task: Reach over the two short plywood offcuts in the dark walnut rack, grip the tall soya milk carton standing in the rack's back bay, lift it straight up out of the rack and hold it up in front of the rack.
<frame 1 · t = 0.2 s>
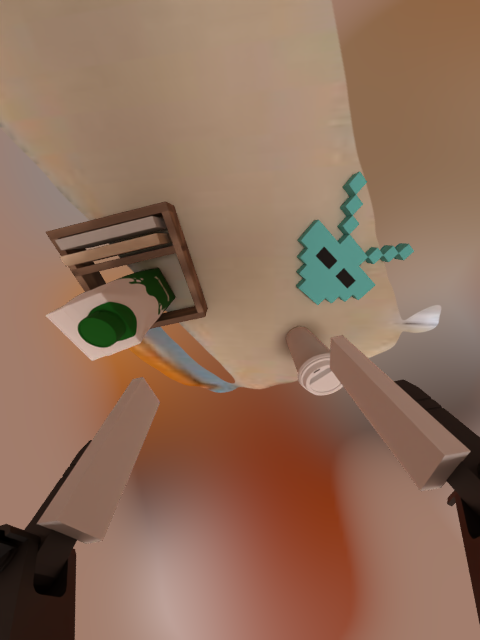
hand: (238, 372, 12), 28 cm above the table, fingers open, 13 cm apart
soya milk: (153, 288, 37), resting in offcut rack
birch offcut: (134, 247, 33), resting in offcut rack
offcut rack: (146, 274, 36), on the table
alien figure: (338, 258, 37), on the table
grey offcut: (127, 233, 32), resting in offcut rack
coffee cup: (297, 336, 45), on the table
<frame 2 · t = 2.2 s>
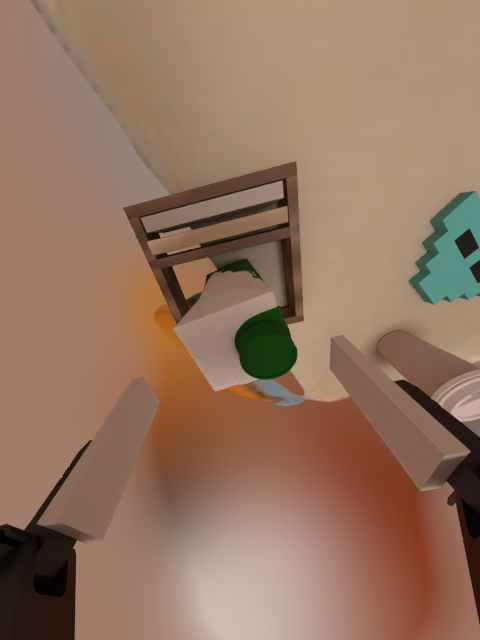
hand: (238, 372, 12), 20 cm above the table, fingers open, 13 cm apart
soya milk: (233, 285, 30), resting in offcut rack
birch offcut: (220, 231, 26), resting in offcut rack
offcut rack: (229, 268, 28), on the table
alien figure: (470, 245, 29), on the table
grey offcut: (216, 213, 24), resting in offcut rack
coffee cup: (391, 342, 37), on the table
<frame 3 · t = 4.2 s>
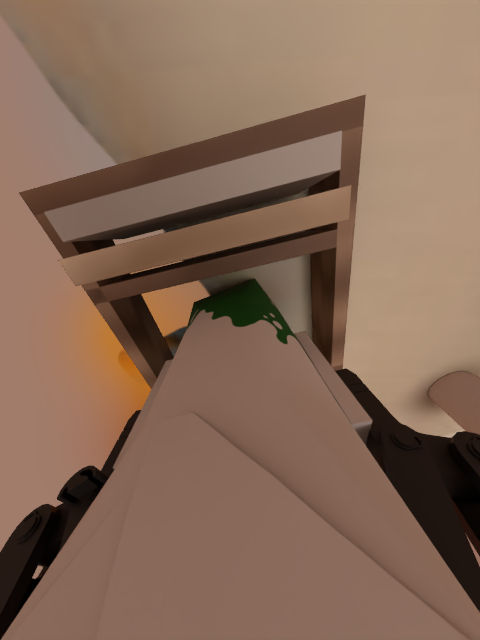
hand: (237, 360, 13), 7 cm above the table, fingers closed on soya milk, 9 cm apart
soya milk: (234, 316, 20), resting in offcut rack, touching gripper
birch offcut: (213, 237, 16), resting in offcut rack
offcut rack: (228, 292, 18), on the table
grey offcut: (206, 207, 15), resting in offcut rack
coffee cup: (447, 385, 28), on the table
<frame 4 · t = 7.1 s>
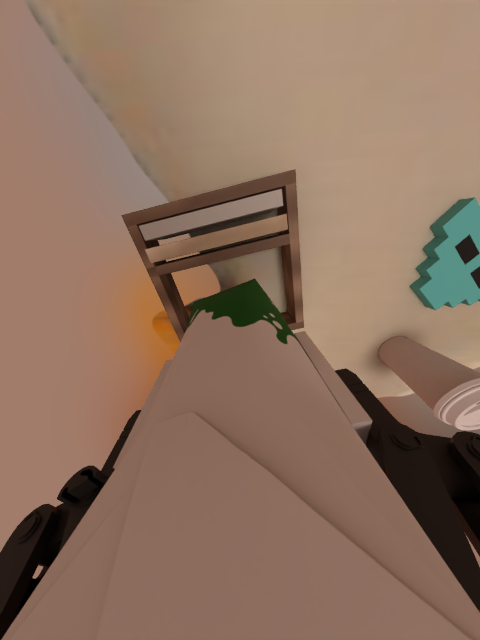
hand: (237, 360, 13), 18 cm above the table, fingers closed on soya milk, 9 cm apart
soya milk: (234, 316, 20), point 10 cm above the table, touching gripper
birch offcut: (219, 238, 25), resting in offcut rack
offcut rack: (228, 274, 28), on the table
alien figure: (470, 250, 29), on the table
grey offcut: (215, 220, 24), resting in offcut rack
coffee cup: (392, 348, 37), on the table
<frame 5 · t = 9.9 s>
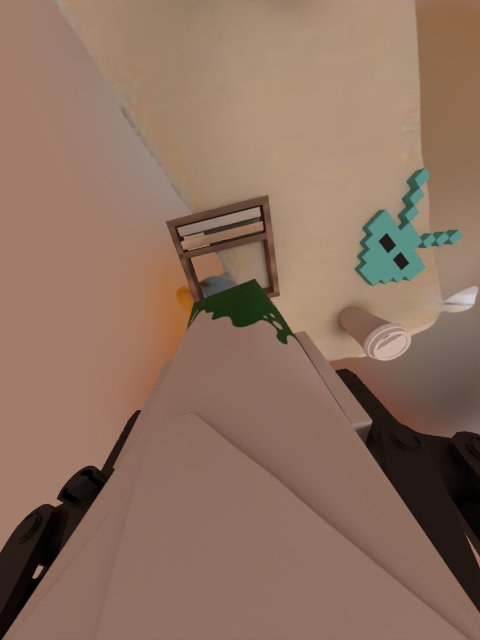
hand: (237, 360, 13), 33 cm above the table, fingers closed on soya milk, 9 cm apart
soya milk: (234, 316, 20), point 26 cm above the table, touching gripper
birch offcut: (223, 235, 39), resting in offcut rack
offcut rack: (229, 259, 41), on the table
alien figure: (394, 244, 42), on the table
grey offcut: (220, 223, 38), resting in offcut rack
coffee cup: (348, 316, 51), on the table
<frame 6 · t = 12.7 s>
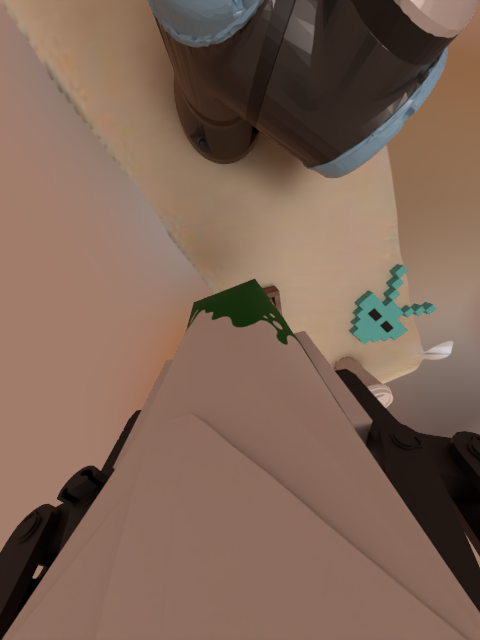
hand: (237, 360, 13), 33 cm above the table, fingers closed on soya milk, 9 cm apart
soya milk: (234, 316, 20), point 26 cm above the table, touching gripper
alien figure: (381, 312, 51), on the table
coffee cup: (344, 364, 59), on the table
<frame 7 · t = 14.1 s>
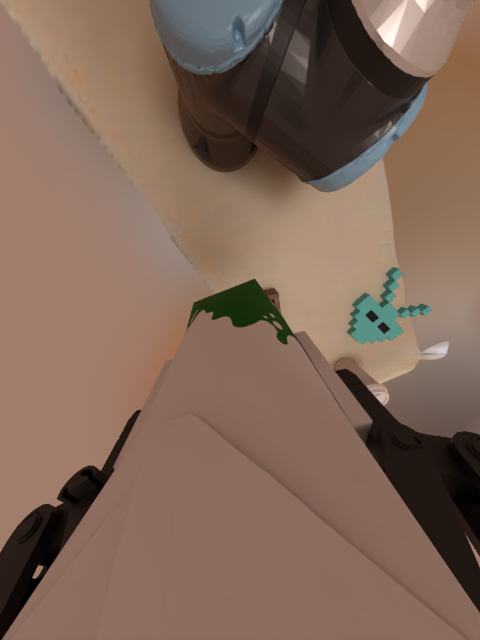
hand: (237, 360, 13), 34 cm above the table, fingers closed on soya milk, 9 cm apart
soya milk: (234, 316, 20), point 27 cm above the table, touching gripper
alien figure: (378, 313, 52), on the table
coffee cup: (342, 364, 61), on the table
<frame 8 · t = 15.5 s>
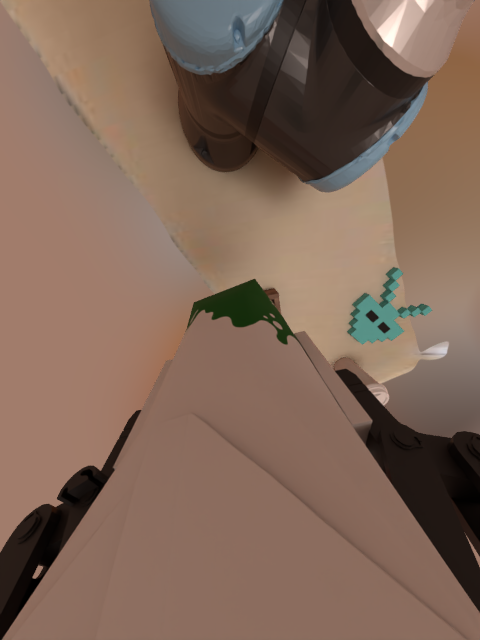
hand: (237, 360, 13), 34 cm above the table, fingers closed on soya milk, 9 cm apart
soya milk: (234, 316, 20), point 27 cm above the table, touching gripper
alien figure: (378, 313, 52), on the table
coffee cup: (342, 364, 61), on the table
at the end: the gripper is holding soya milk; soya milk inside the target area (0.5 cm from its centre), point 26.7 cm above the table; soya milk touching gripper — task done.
